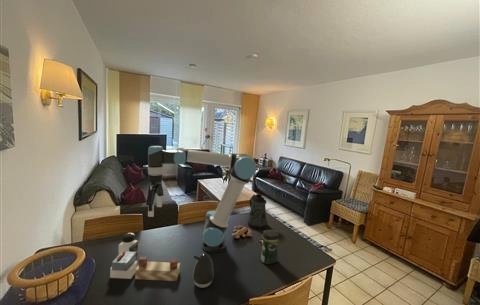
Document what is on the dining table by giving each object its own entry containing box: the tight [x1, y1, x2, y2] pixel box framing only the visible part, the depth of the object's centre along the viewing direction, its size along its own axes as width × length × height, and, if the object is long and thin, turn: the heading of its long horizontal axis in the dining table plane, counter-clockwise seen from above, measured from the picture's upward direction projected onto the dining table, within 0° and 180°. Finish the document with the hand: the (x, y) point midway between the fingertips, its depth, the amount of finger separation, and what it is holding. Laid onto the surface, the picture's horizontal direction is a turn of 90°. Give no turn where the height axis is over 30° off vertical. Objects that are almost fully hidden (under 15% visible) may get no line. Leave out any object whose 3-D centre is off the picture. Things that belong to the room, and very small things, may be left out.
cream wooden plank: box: [134, 256, 181, 282], centre depth 104 cm, size 20×6×9 cm, turn 92°
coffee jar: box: [260, 229, 280, 265], centre depth 122 cm, size 10×8×19 cm
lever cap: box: [111, 251, 137, 271], centre depth 103 cm, size 7×9×5 cm
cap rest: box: [109, 260, 138, 280], centre depth 103 cm, size 10×6×5 cm, turn 92°
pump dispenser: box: [192, 253, 215, 289], centre depth 100 cm, size 10×10×15 cm
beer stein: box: [246, 193, 268, 230], centre depth 169 cm, size 16×19×25 cm
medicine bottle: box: [118, 232, 139, 255], centre depth 119 cm, size 7×7×12 cm
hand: (155, 211), depth 116 cm, fingers open, 13 cm apart
